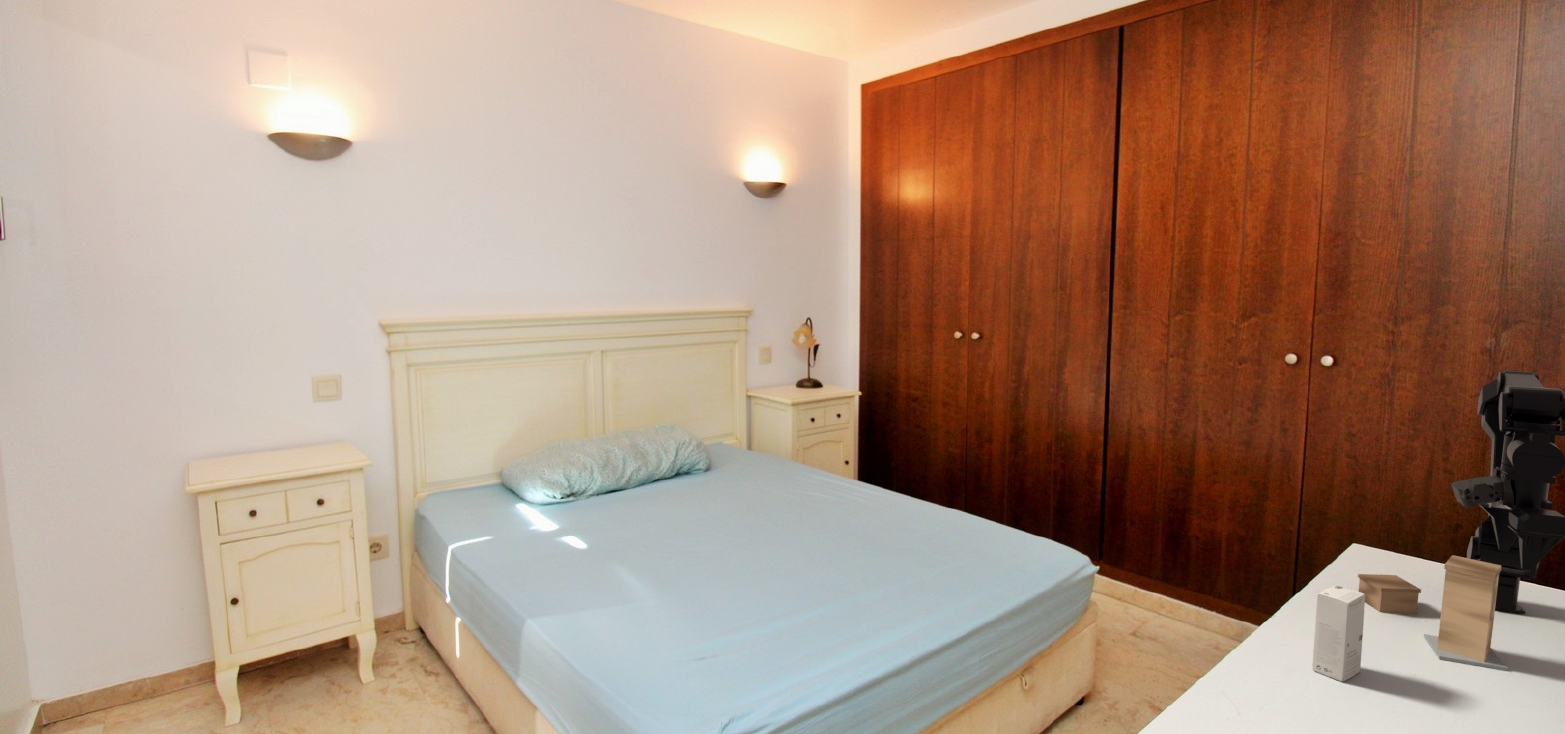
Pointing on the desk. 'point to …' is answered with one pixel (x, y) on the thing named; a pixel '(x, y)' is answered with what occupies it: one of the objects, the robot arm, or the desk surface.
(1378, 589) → the walnut trinket box
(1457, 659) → the coaster
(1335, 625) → the skincare box
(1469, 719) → the desk surface
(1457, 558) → the oak tea canister
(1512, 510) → the robot arm
